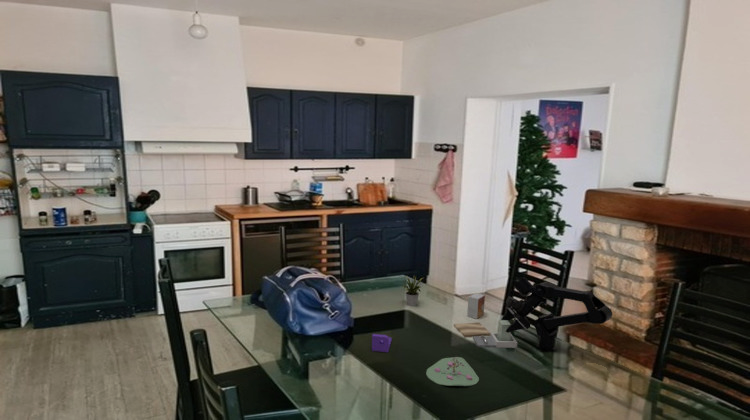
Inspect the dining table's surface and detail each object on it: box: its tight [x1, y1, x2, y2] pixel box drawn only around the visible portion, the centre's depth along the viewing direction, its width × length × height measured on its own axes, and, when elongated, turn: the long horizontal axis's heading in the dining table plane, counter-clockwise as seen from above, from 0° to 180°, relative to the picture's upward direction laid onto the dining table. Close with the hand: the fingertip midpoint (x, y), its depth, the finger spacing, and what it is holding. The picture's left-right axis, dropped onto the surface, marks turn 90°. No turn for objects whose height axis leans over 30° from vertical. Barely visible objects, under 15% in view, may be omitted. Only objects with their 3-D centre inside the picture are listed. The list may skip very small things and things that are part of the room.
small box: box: [466, 292, 486, 320], centre depth 249 cm, size 8×6×10 cm
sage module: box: [497, 319, 512, 341], centre depth 218 cm, size 4×5×10 cm
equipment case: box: [472, 332, 518, 349], centre depth 218 cm, size 17×10×2 cm, turn 93°
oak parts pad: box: [453, 322, 491, 338], centre depth 231 cm, size 13×13×1 cm
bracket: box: [371, 333, 393, 353], centre depth 212 cm, size 12×7×7 cm, turn 171°
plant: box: [425, 355, 480, 387], centre depth 191 cm, size 25×21×9 cm
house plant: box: [400, 274, 424, 307], centre depth 261 cm, size 14×14×16 cm
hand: (503, 327), depth 218 cm, fingers open, 9 cm apart
